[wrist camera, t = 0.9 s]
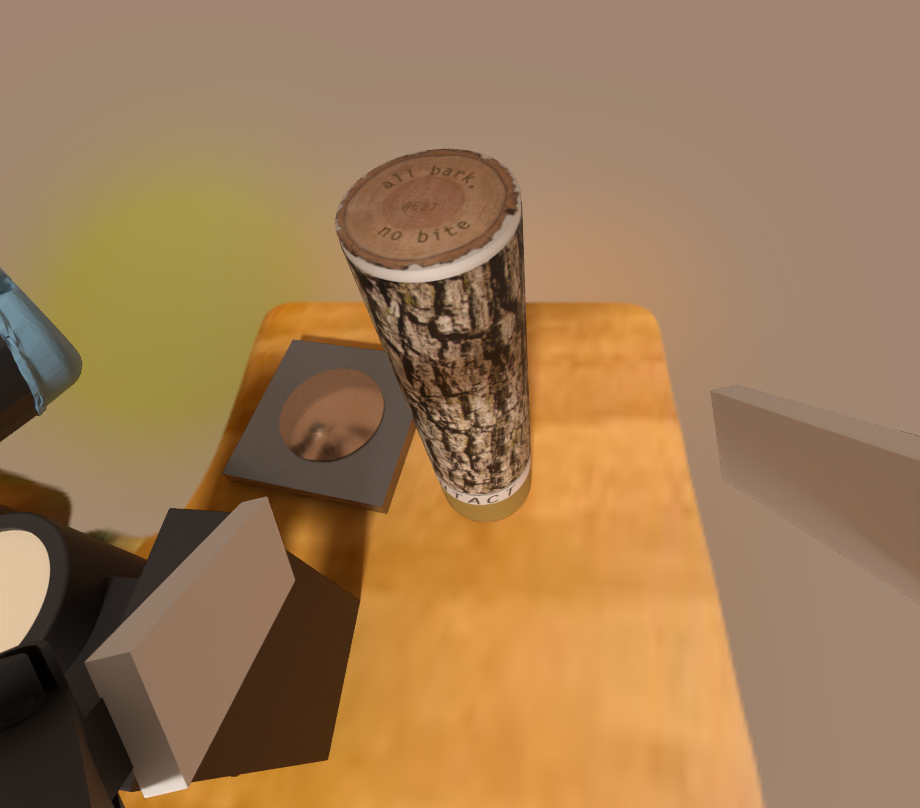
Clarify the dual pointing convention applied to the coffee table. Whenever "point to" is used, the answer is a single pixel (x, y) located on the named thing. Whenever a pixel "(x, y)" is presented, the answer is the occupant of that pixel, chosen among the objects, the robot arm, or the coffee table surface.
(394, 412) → the plate
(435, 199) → the paper tube
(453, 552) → the coffee table surface
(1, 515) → the light fixture
